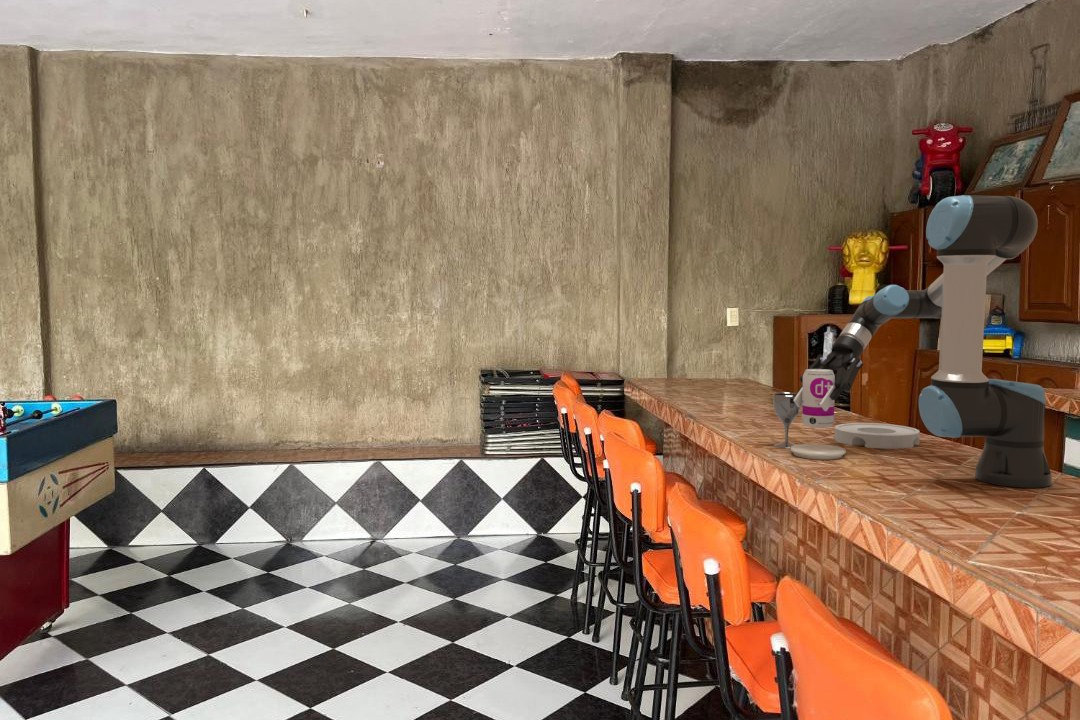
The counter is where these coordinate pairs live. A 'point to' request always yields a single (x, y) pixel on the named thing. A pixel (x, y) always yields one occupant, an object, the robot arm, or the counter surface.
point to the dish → (818, 451)
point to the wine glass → (785, 413)
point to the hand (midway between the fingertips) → (809, 405)
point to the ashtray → (877, 435)
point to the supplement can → (817, 398)
